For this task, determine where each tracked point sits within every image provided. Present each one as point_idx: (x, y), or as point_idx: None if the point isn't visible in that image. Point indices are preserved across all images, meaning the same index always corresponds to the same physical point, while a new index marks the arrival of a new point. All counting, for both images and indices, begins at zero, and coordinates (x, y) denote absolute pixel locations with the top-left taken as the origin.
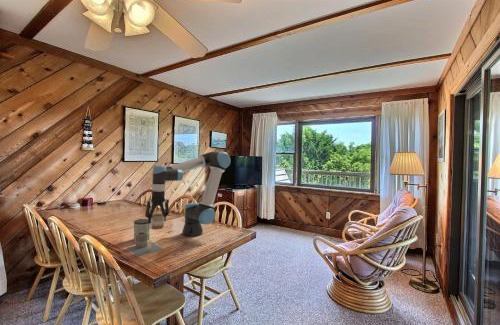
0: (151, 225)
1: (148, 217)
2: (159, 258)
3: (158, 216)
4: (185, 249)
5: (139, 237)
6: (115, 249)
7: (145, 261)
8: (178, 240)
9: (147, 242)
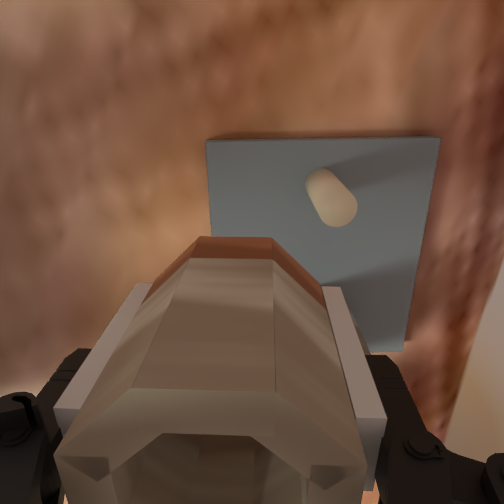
0: (342, 318)
1: (456, 463)
2: (302, 9)
3: (238, 388)
4: (23, 64)
5: (363, 348)
6: (442, 380)
7: (421, 26)
8: (23, 298)
9: (356, 206)
